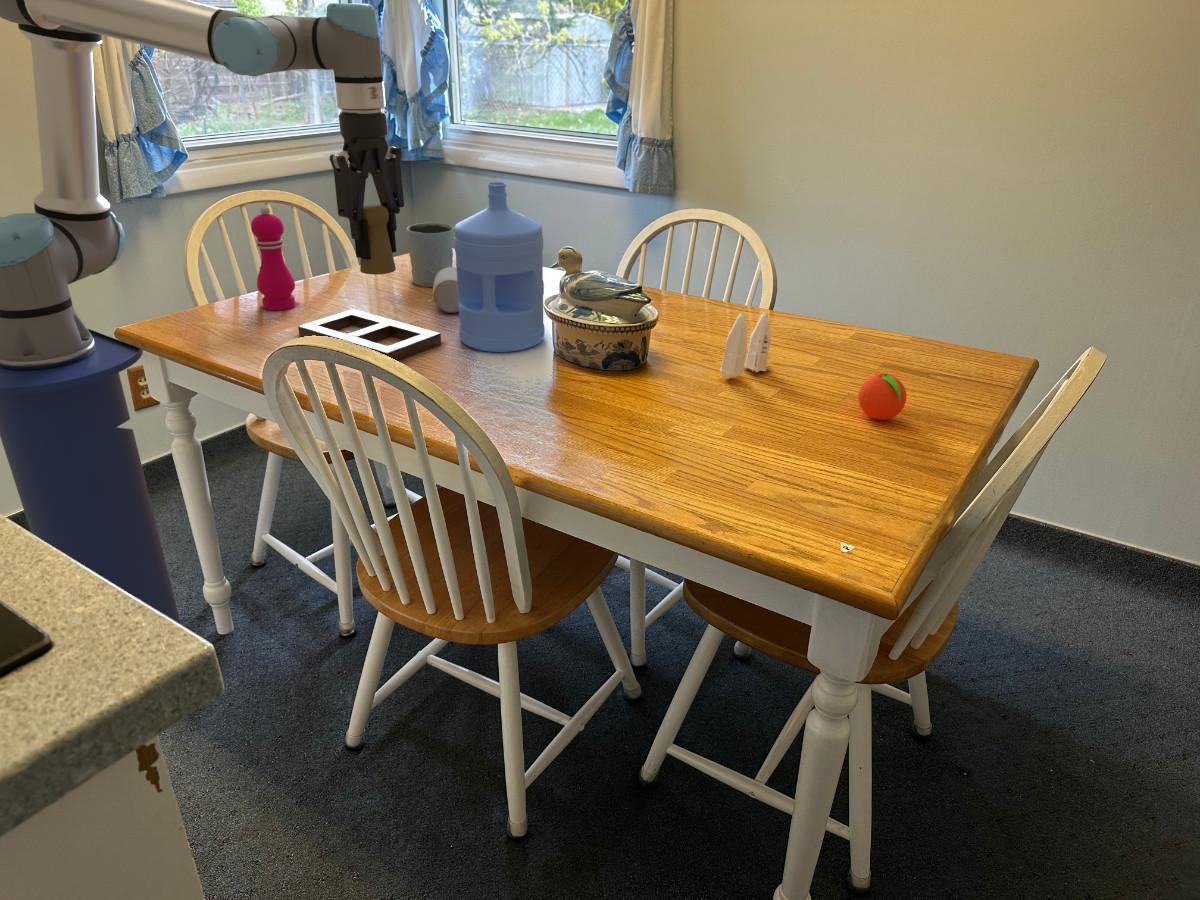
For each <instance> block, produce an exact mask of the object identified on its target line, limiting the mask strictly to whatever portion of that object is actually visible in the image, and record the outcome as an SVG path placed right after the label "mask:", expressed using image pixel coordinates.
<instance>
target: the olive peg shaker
mask: <svg viewBox="0 0 1200 900" xmlns="http://www.w3.org/2000/svg"><path fill="white" fill-rule="evenodd" d="M362 219H365V220H367V228H368V237H369V247H370V257H371V259H368V260H367V259H363V258H360V266H359V267H360V268H359V269H360V270H359V271H360V273H362V274H365V275H387V274H391V273H394V272H395V271H396V270H397V267H396V263H395V259H394V254H393V253H392V249H391V245H390V240H389V236H388V231H387V227H386V224H387V222H388V219H389V214H388V211H387V209H386V208H385V207H384V206H381V204H365V205H364V206H363V216H362Z"/></svg>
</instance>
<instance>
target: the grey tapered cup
mask: <svg viewBox="0 0 1200 900" xmlns="http://www.w3.org/2000/svg"><path fill="white" fill-rule="evenodd" d="M454 228H455V227H453V226H452V225H450V224H448V223H441V222H423V223H421V222H420V223H414V224H410V225H408V226H407V227H406V236H407V242H408V250H409V258H410V259H409V260H410V266H411V276H412V277H411V278H412V282H413V284H414V285H416V286H419V287H426V288H433V286H434V279H435V277H436V275H437V274H438V272H439V271H441V270H442V269H444V268H447V267H453V263H454V261H453V257H454V253H453V251H454V250H453V249H454V235H455V234H454Z"/></svg>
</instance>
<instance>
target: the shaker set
mask: <svg viewBox="0 0 1200 900" xmlns="http://www.w3.org/2000/svg"><path fill="white" fill-rule="evenodd" d="M749 338H750V339H749V343H748V332H747V323H746V315H745V313H743V312H740V313H739V314H738V315H737V317H736V320H735V322H734V323H733V325H732V328H731V329H730V331H729V333H728V335H727V337H726V341H725V347H724V352H723V357H722V361H721V366H720V368H719V371H720V373H721V375H722V376H723V377H724V379H725V380H729V379H733V378H735V377H738V376H741V375H743V374H745V371H744V369H749V370H751V371H752V373H754V372H755V373H759V372H760V371H762V372H766V371H768V370H767V367H768V359H769V353H770V347H771V341H772V339H771V329H770V321H769V314H768V312H766V311H764V312H763V313H762V314H761V315H760V317H759V319H758V321H757V322H756V325H755V327H754V328H753V331H752V332H751V334H750V337H749ZM747 348H748V349H747Z"/></svg>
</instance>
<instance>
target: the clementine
mask: <svg viewBox="0 0 1200 900" xmlns="http://www.w3.org/2000/svg"><path fill="white" fill-rule="evenodd" d="M906 390H907V389H906V387H905V386H904V384H903V382H902V381H901V380H900V379H898V378H897V377H896V376H894V375H893V374H888V373H877V374H875V375H872V376H870V377H868V378H867V379H866V380H864V381H863V383H862V384H861V386H860V388H859V392H858V398H857V401H858V404H859V407H860V409H861V410H862V412H863V413H864V414H865V415H867V416H868V417H869V418H871V419H873V420H879V421H887V420H890V419H892V418H894V417H897V415H899V414H900V413H901V412H902V410H903V409H904V408H905V405H906V402H907V391H906Z"/></svg>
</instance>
